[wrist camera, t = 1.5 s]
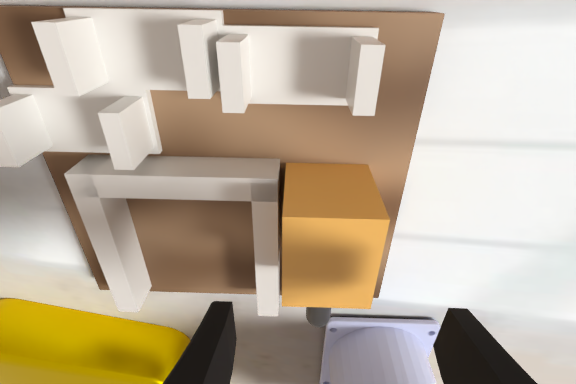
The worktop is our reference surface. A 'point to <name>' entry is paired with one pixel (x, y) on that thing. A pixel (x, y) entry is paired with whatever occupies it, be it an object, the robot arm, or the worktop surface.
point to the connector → (331, 238)
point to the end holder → (181, 186)
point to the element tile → (82, 347)
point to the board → (249, 144)
